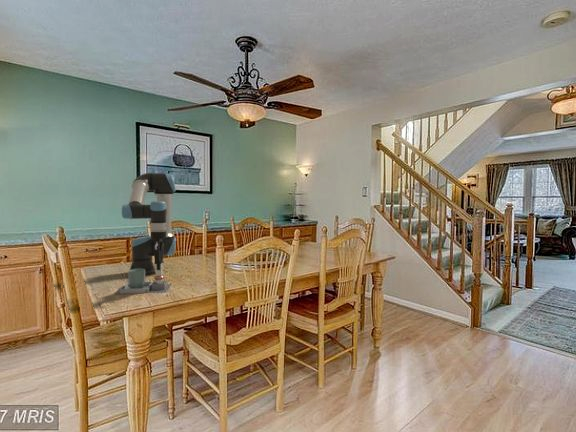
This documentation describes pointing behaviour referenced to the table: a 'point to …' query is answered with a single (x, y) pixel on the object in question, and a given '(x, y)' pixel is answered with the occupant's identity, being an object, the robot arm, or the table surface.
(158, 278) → the plunger
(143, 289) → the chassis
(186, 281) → the table surface
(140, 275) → the cup
